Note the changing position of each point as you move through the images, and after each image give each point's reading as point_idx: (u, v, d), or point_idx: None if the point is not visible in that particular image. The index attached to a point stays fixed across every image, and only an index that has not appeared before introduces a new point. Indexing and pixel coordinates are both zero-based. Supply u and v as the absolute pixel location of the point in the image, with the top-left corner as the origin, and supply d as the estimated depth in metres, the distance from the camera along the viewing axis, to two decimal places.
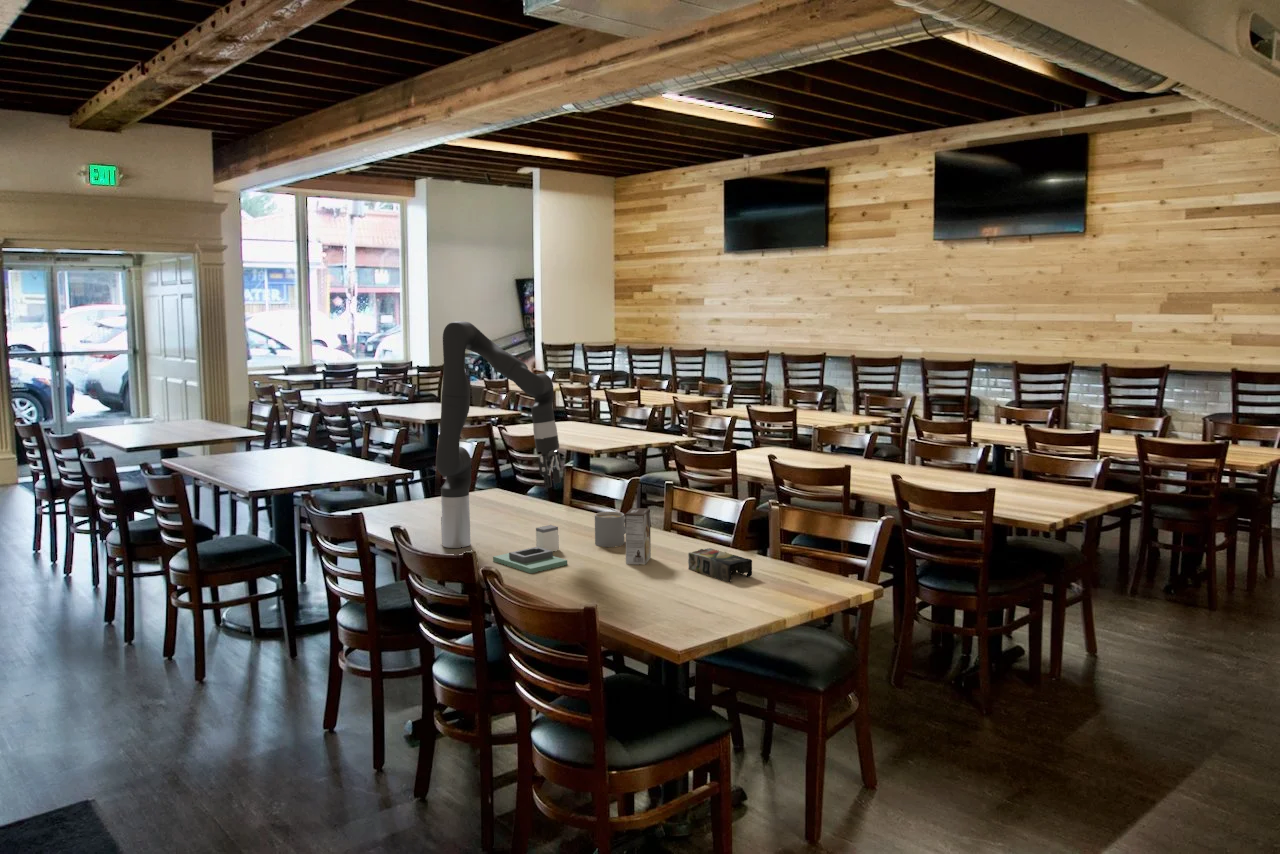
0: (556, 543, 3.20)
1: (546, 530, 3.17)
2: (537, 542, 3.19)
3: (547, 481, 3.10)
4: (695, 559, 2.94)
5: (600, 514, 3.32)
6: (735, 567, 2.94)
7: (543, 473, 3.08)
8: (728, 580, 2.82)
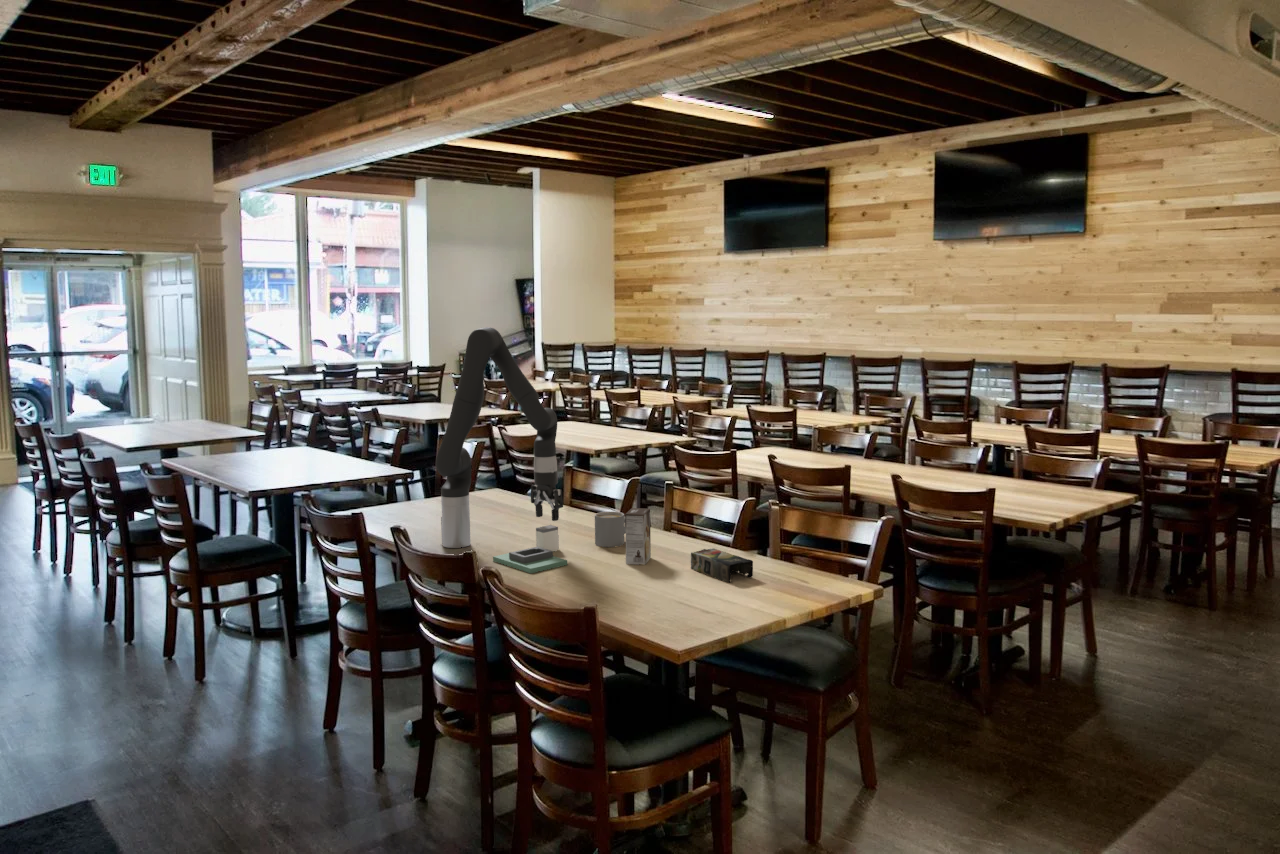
0: (556, 543, 3.20)
1: (546, 530, 3.17)
2: (537, 542, 3.19)
3: (557, 514, 3.15)
4: (696, 559, 2.94)
5: (600, 514, 3.32)
6: (736, 568, 2.93)
7: (559, 506, 3.13)
8: (728, 580, 2.82)
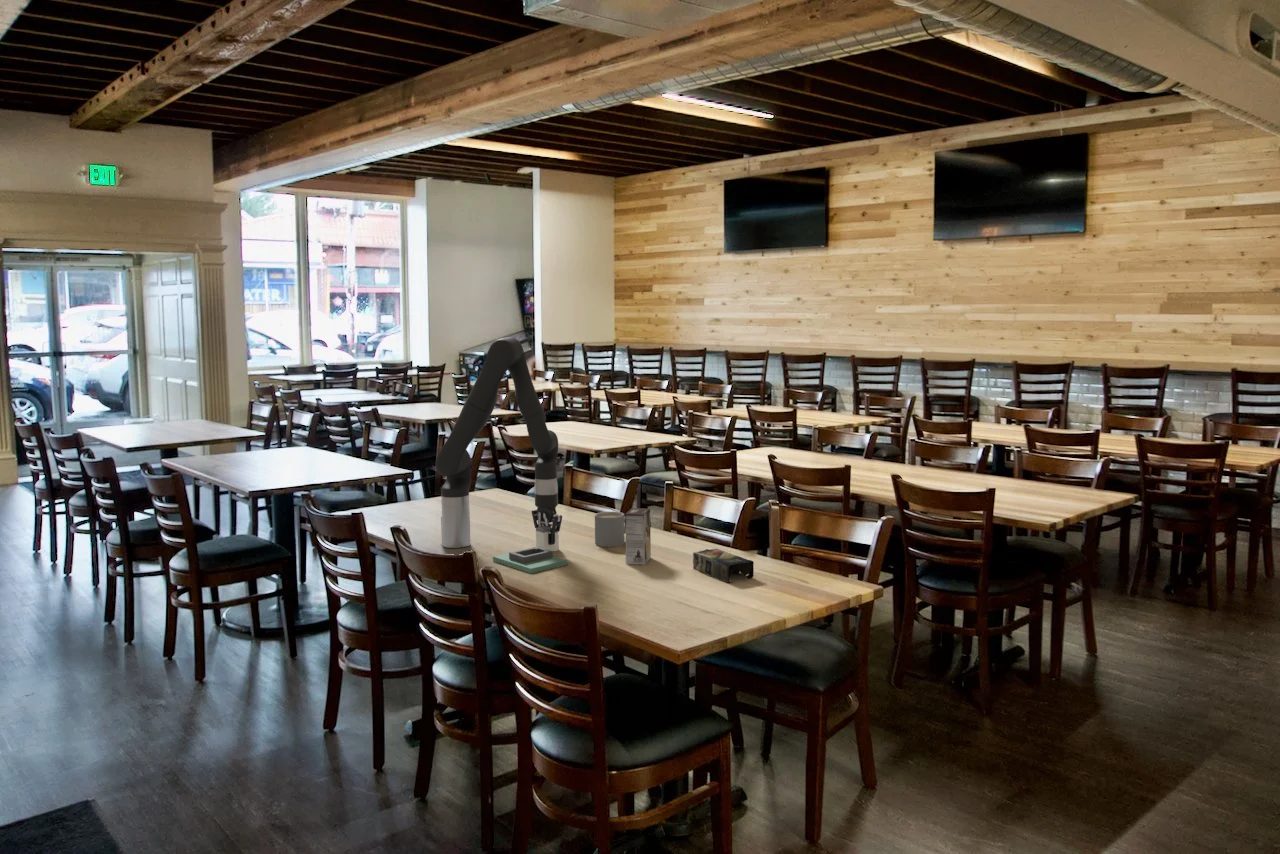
0: (556, 543, 3.20)
1: (546, 530, 3.17)
2: (537, 542, 3.19)
3: (554, 538, 3.17)
4: (698, 559, 2.94)
5: (600, 514, 3.32)
6: (738, 568, 2.92)
7: (556, 530, 3.15)
8: (727, 581, 2.82)
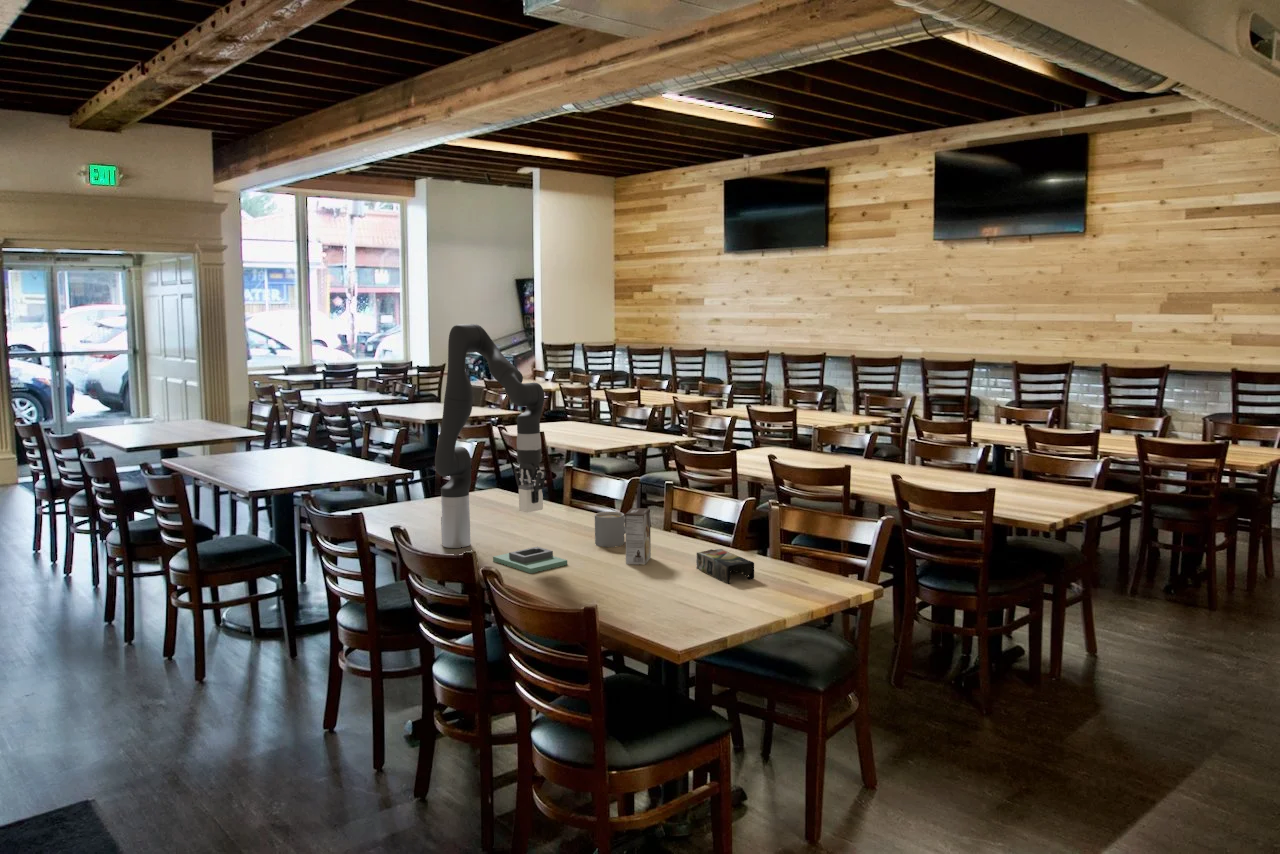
0: (540, 502, 3.04)
1: (529, 487, 3.01)
2: (519, 501, 3.03)
3: (537, 496, 3.02)
4: (701, 559, 2.94)
5: (600, 514, 3.32)
6: (741, 569, 2.91)
7: (540, 488, 3.00)
8: (727, 581, 2.81)
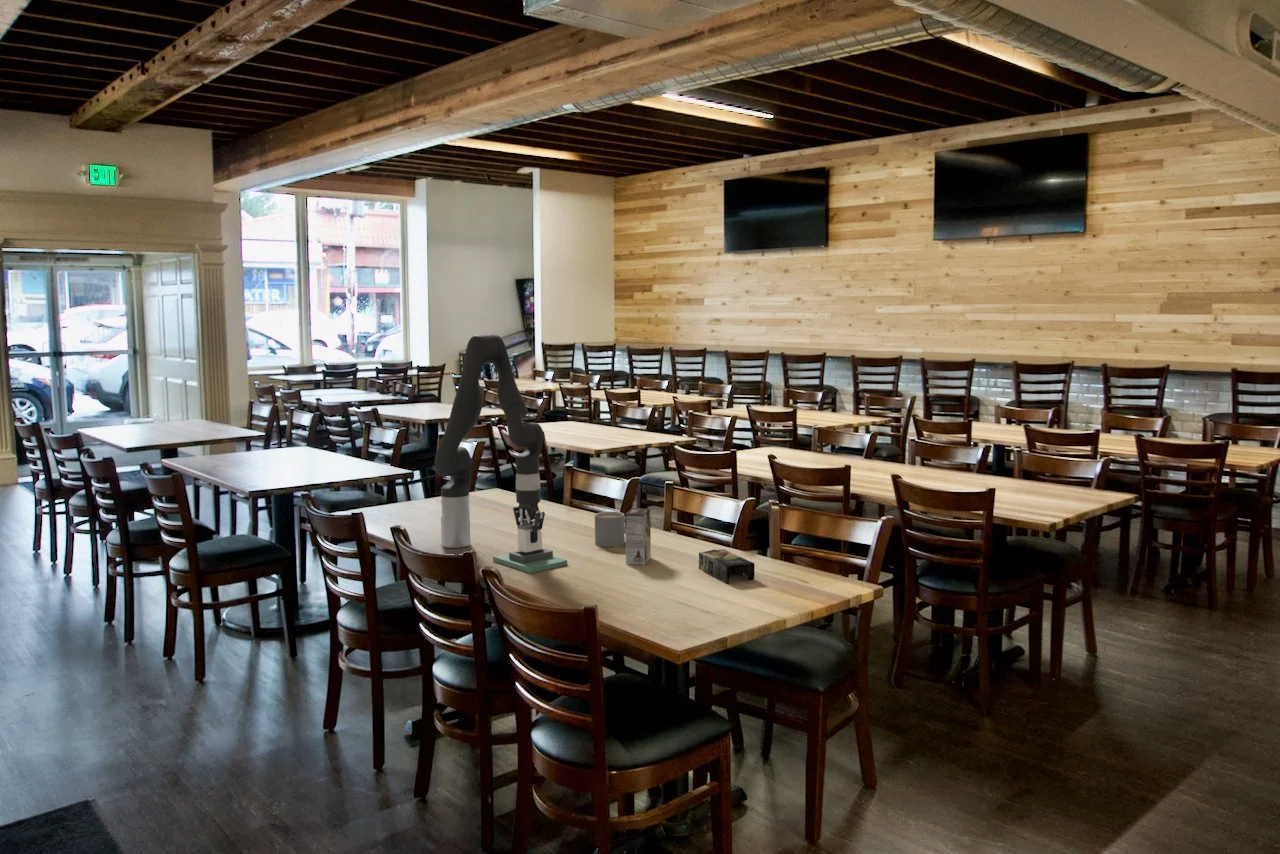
0: (539, 541, 3.05)
1: (528, 527, 3.01)
2: (518, 540, 3.04)
3: (536, 536, 3.02)
4: (703, 559, 2.94)
5: (600, 514, 3.32)
6: (742, 570, 2.91)
7: (538, 528, 3.00)
8: (726, 582, 2.81)
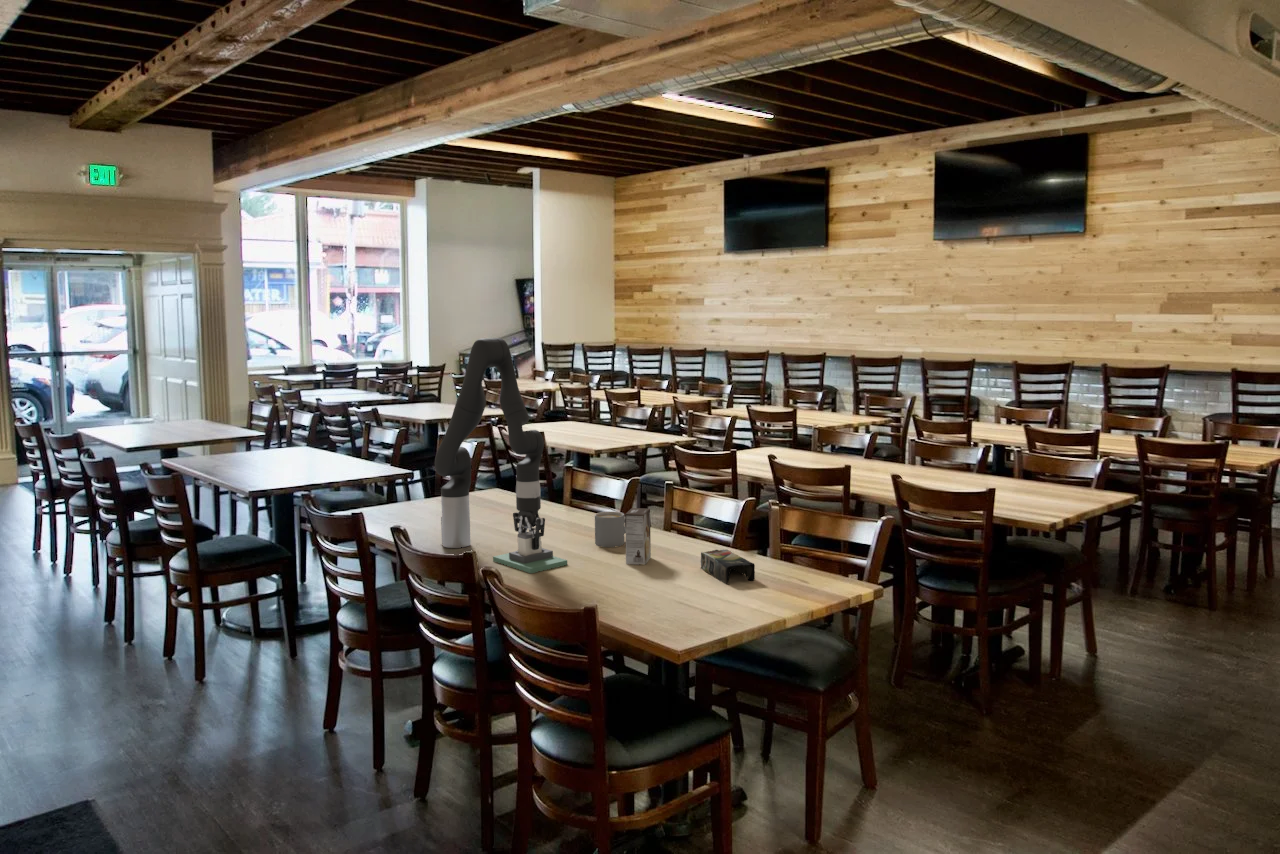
0: (539, 550, 3.05)
1: (528, 536, 3.02)
2: (518, 549, 3.04)
3: (538, 543, 3.02)
4: (705, 559, 2.94)
5: (600, 514, 3.32)
6: (743, 570, 2.90)
7: (540, 535, 3.00)
8: (726, 582, 2.80)
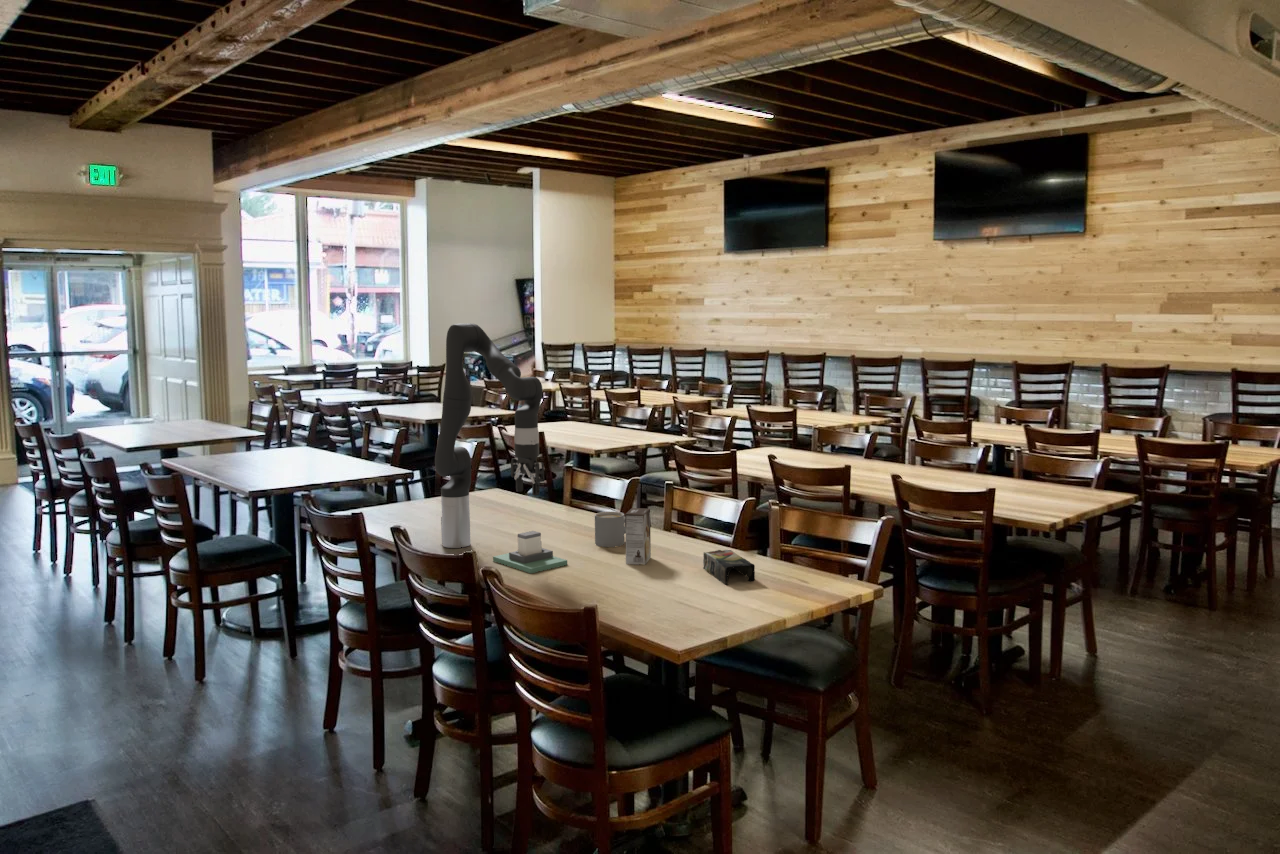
0: (539, 550, 3.05)
1: (528, 536, 3.02)
2: (518, 549, 3.04)
3: (538, 488, 2.99)
4: (707, 559, 2.94)
5: (600, 514, 3.32)
6: (745, 571, 2.89)
7: (541, 480, 2.97)
8: (725, 583, 2.80)
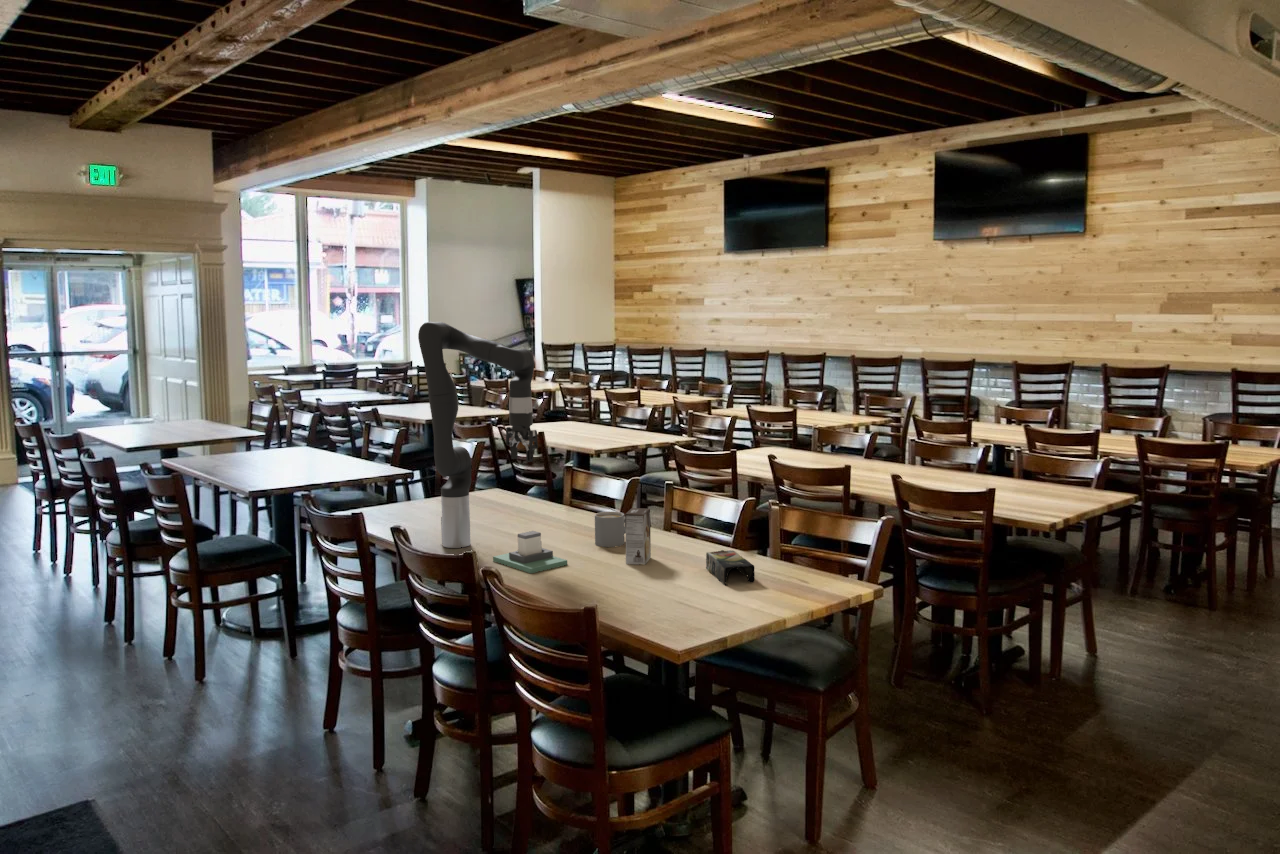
0: (539, 550, 3.05)
1: (528, 536, 3.02)
2: (518, 549, 3.04)
3: (532, 455, 3.13)
4: (709, 560, 2.94)
5: (600, 514, 3.32)
6: (746, 572, 2.89)
7: (534, 447, 3.12)
8: (724, 583, 2.80)
